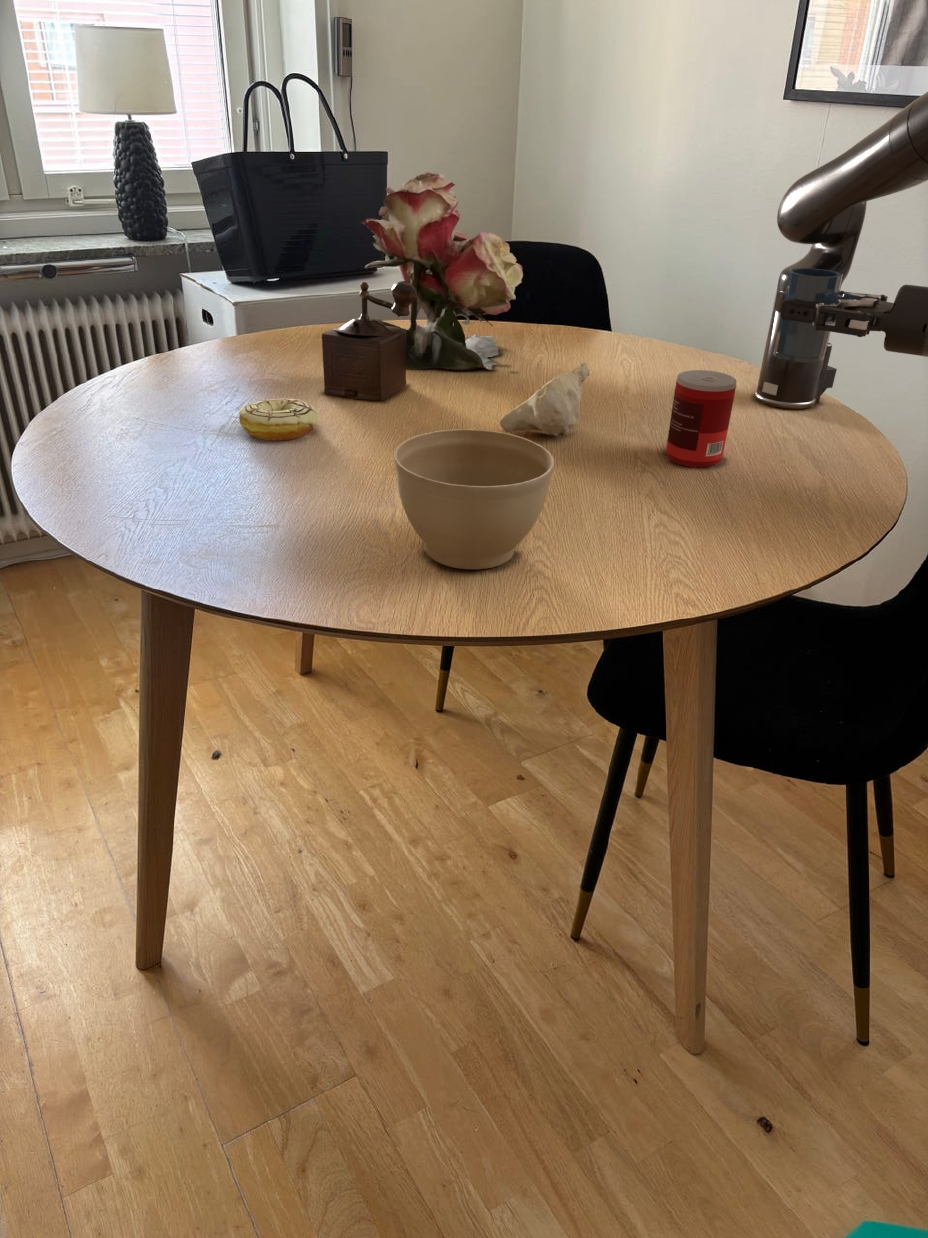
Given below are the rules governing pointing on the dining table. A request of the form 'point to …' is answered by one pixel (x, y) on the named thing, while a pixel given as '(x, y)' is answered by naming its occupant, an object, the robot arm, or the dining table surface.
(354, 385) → the manual coffee grinder
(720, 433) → the canned food
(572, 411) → the cream rock
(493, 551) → the planter bowl
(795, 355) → the tumbler
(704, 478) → the dining table surface
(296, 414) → the decorated donut
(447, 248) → the rose bouquet
